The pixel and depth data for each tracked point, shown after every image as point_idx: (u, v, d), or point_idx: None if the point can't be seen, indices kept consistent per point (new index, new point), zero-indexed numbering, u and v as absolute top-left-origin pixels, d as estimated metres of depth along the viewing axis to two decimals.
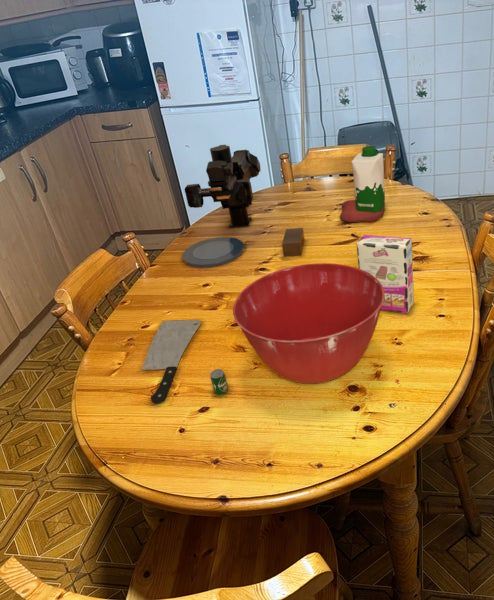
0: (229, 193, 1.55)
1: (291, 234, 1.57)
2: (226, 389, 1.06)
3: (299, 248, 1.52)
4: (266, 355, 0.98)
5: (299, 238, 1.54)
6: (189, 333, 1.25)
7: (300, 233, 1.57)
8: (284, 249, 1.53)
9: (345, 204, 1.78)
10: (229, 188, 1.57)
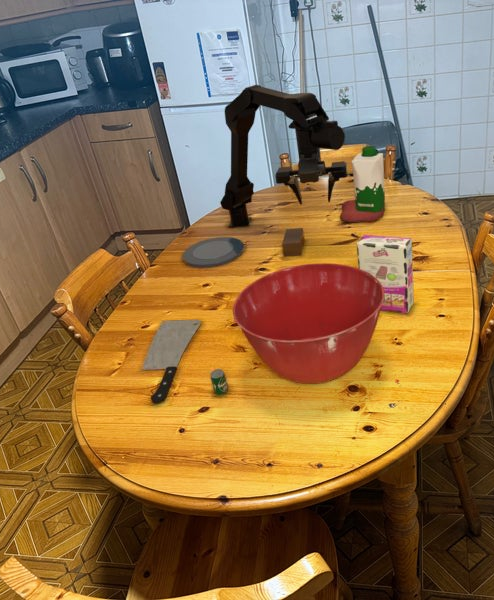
0: None
1: (291, 234, 1.57)
2: (226, 389, 1.06)
3: (299, 248, 1.52)
4: (266, 355, 0.98)
5: (299, 238, 1.54)
6: (189, 333, 1.25)
7: (300, 233, 1.57)
8: (284, 249, 1.53)
9: (345, 204, 1.78)
10: None
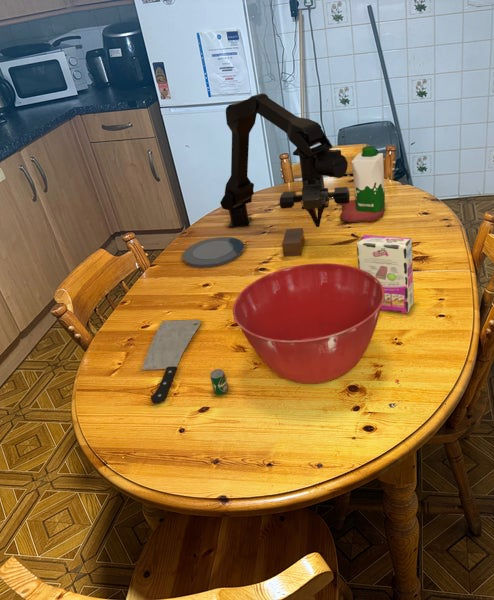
0: None
1: (291, 234, 1.57)
2: (226, 389, 1.06)
3: (299, 248, 1.52)
4: (266, 355, 0.98)
5: (299, 238, 1.54)
6: (189, 333, 1.25)
7: (300, 233, 1.57)
8: (284, 249, 1.53)
9: (345, 204, 1.78)
10: None
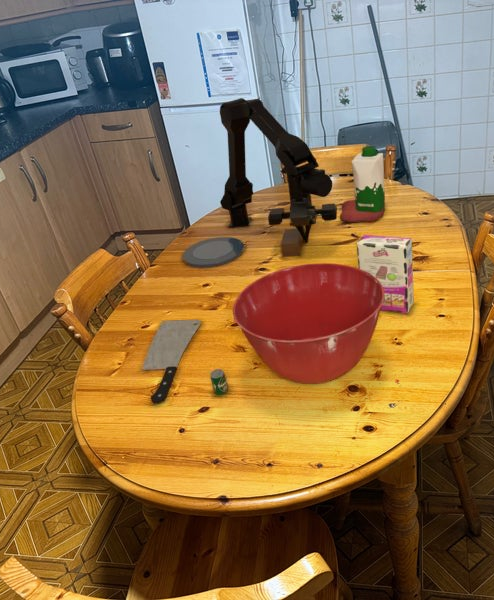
0: None
1: (289, 234, 1.57)
2: (226, 389, 1.06)
3: (298, 248, 1.52)
4: (266, 355, 0.98)
5: (298, 238, 1.54)
6: (189, 333, 1.25)
7: (299, 233, 1.57)
8: (283, 249, 1.53)
9: (345, 204, 1.78)
10: None
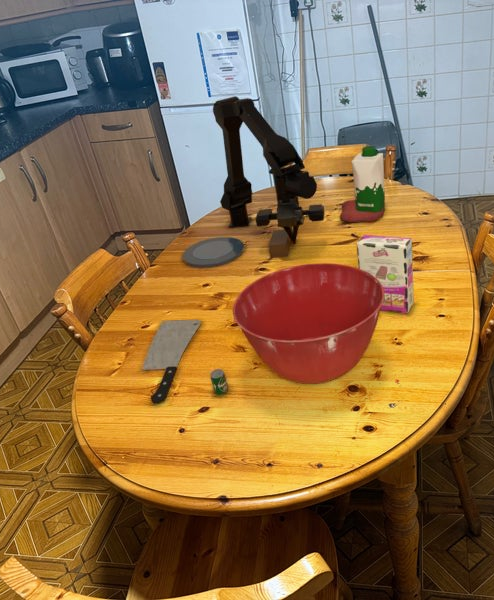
0: None
1: (277, 235, 1.57)
2: (226, 389, 1.06)
3: (286, 249, 1.53)
4: (266, 355, 0.98)
5: (286, 239, 1.54)
6: (189, 333, 1.25)
7: (287, 234, 1.57)
8: (271, 250, 1.53)
9: (345, 204, 1.78)
10: None
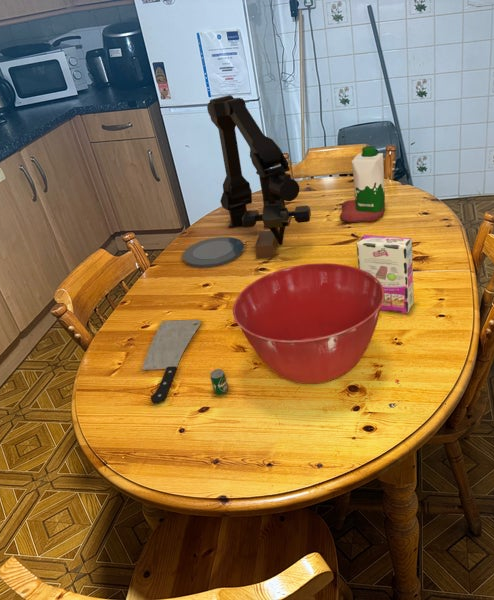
0: None
1: (264, 236, 1.58)
2: (226, 389, 1.06)
3: (272, 250, 1.53)
4: (266, 355, 0.98)
5: (272, 240, 1.55)
6: (189, 333, 1.25)
7: (273, 235, 1.57)
8: (257, 251, 1.54)
9: (345, 204, 1.78)
10: None
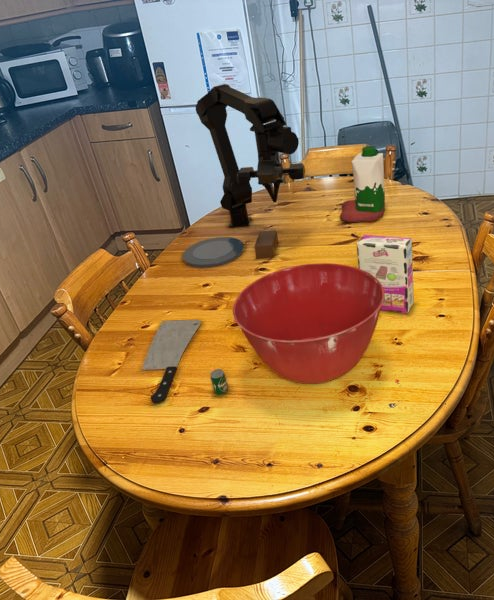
0: None
1: (264, 236, 1.58)
2: (226, 389, 1.06)
3: (271, 250, 1.53)
4: (266, 355, 0.98)
5: (272, 240, 1.55)
6: (189, 333, 1.25)
7: (273, 235, 1.57)
8: (257, 251, 1.54)
9: (345, 204, 1.78)
10: None
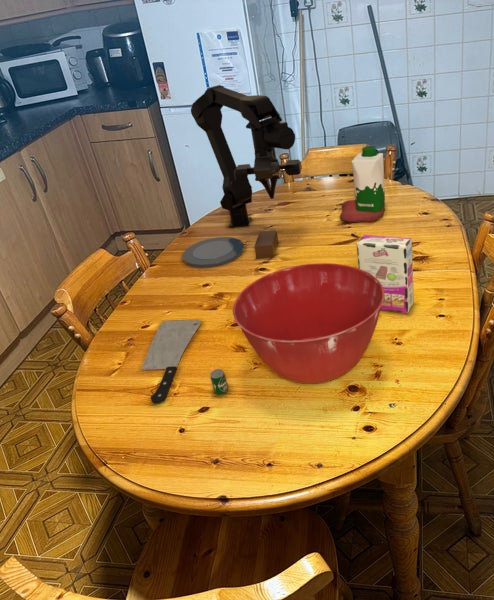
0: None
1: (264, 236, 1.58)
2: (226, 389, 1.06)
3: (271, 250, 1.53)
4: (266, 355, 0.98)
5: (272, 240, 1.55)
6: (189, 333, 1.25)
7: (273, 235, 1.57)
8: (257, 251, 1.54)
9: (345, 204, 1.78)
10: None
